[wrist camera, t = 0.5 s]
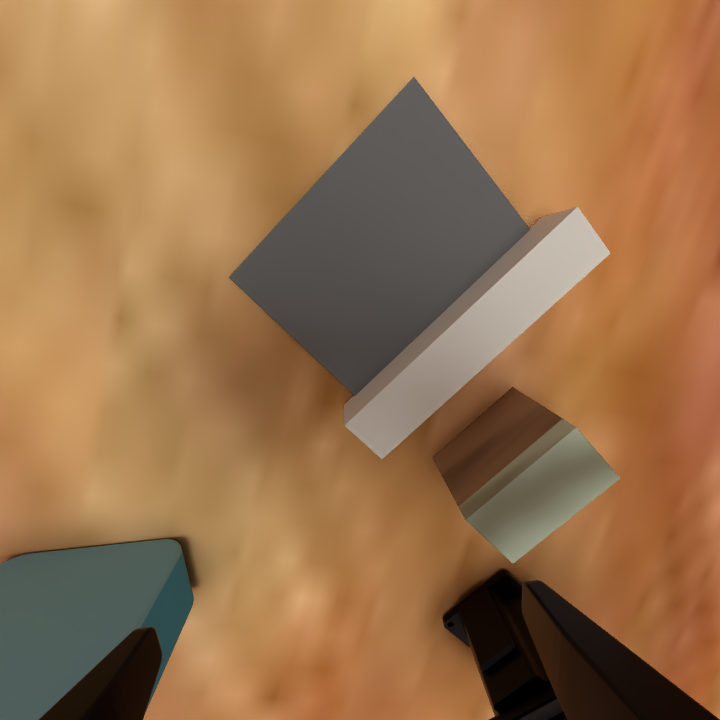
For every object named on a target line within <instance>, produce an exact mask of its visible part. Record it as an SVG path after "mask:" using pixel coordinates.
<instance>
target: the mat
mask: <svg viewBox="0 0 720 720" xmlns="http://www.w3.org/2000/svg"><path fill="white" fill-rule="evenodd" d="M529 230H530V228H529V227H528V226H527V225H526V223H525V222H524V221H523V219H522V218H521V217H520V215H519V214H518V213H517V211H516V210H515V209H514V207H513V206H512V205H511V204H510V202H509V201H508V200H507V198H506V197H505V196H504V194H503V193H502V192H501V190H500V189H499V188H498V186H497V185H496V184H495V183H494V181H493V180H492V179H491V177H490V176H489V175H488V173H487V172H486V171H485V169H484V168H483V167H482V165H481V164H480V163H479V162H478V160H477V159H476V158H475V156H474V155H473V154H472V152H471V151H470V150H469V148H468V147H467V146H466V144H465V143H464V142H463V141H462V139H461V138H460V137H459V135H458V134H457V133H456V131H455V130H454V129H453V127H452V126H451V125H450V123H449V122H448V121H447V120H446V118H445V117H444V116H443V114H442V113H441V112H440V110H439V109H438V108H437V106H436V105H435V104H434V102H433V101H432V100H431V99H430V97H429V96H428V95H427V93H426V92H425V91H424V89H423V88H422V87H421V85H420V84H419V83H418V81H417V80H416V79H415V78H414V77H413V78H412V79H411V80H410V82H409V83H408V84H407V85H406V86H405V87H404V88H403V89H402V90H401V91H400V92H399V93H398V95H397V96H396V97H395V98H394V99H393V100H392V101H391V102H390V103H389V104H388V105H387V106H386V108H385V109H384V110H383V111H382V112H381V113H380V114H379V115H378V116H377V117H376V118H375V119H374V121H373V122H372V123H371V124H370V125H369V126H368V127H367V128H366V129H365V130H364V131H363V132H362V134H361V135H360V136H359V137H358V138H357V139H356V140H355V141H354V142H353V143H352V144H351V145H350V147H349V148H348V149H347V150H346V151H345V152H344V153H343V154H342V155H341V156H340V157H339V158H338V160H337V161H336V162H335V163H334V164H333V165H332V166H331V167H330V168H329V169H328V170H327V171H326V173H325V174H324V175H323V176H322V177H321V178H320V179H319V180H318V181H317V182H316V183H315V184H314V186H313V187H312V188H311V189H310V190H309V191H308V192H307V193H306V194H305V195H304V196H303V197H302V199H301V200H300V201H299V202H298V203H297V204H296V205H295V206H294V207H293V208H292V209H291V210H290V212H289V213H288V214H287V215H286V216H285V217H284V218H283V219H282V220H281V221H280V222H279V223H278V225H277V226H276V227H275V228H274V229H273V230H272V231H271V232H270V233H269V234H268V235H267V236H266V238H265V239H264V240H263V241H262V242H261V243H260V244H259V245H258V246H257V247H256V248H255V249H254V251H253V252H252V253H251V254H250V255H249V256H248V257H247V258H246V259H245V260H244V261H243V262H242V264H241V265H240V266H239V267H238V268H237V269H236V270H235V271H234V272H233V273H232V274H231V275H230V277H229V278H230V279H231V280H232V281H233V282H234V283H235V284H236V285H237V286H239V287H240V288H241V289H242V290H243V291H244V292H245V293H246V294H247V295H248V296H249V297H250V298H251V299H252V300H253V301H254V302H256V303H257V304H258V305H259V306H260V307H261V308H262V309H263V310H264V311H265V312H266V313H267V314H268V315H269V316H270V317H271V318H273V319H274V320H275V321H276V322H277V323H278V324H279V325H280V326H281V327H282V328H283V329H284V330H285V331H286V332H287V333H288V334H290V335H291V336H292V337H293V338H294V339H295V340H296V341H297V342H298V343H299V344H300V345H301V346H302V347H303V348H304V349H305V350H307V351H308V352H309V353H310V354H311V355H312V356H313V357H314V358H315V359H316V360H317V361H318V362H319V363H320V364H321V365H322V366H324V367H325V368H326V369H327V370H328V371H329V372H330V373H331V374H332V375H333V376H334V377H335V378H336V379H337V380H338V381H340V382H341V383H342V384H343V385H344V386H345V387H346V388H347V389H348V390H349V391H350V392H351V393H352V394H353V395H354V396H356V395H357V394H358V393H359V392H360V391H361V390H362V389H363V388H364V387H365V386H366V385H367V384H368V383H369V382H370V381H371V380H372V379H374V378H375V377H376V376H377V375H378V374H379V373H380V372H381V371H382V370H383V369H384V368H385V367H386V366H387V365H388V364H389V363H390V362H391V361H392V360H394V359H395V358H396V357H397V356H398V355H399V354H400V353H401V352H402V351H403V350H404V349H405V348H406V347H407V346H408V345H409V344H410V343H411V342H413V341H414V340H415V339H416V338H417V337H418V336H419V335H420V334H421V333H422V332H423V331H424V330H425V329H426V328H427V327H428V326H429V325H430V324H431V323H433V322H434V321H435V320H436V319H437V318H438V317H439V316H440V315H441V314H442V313H443V312H444V311H445V310H446V309H447V308H448V307H449V306H450V305H451V304H453V303H454V302H455V301H456V300H457V299H458V298H459V297H460V296H461V295H462V294H463V293H464V292H465V291H466V290H467V289H468V288H469V287H470V286H472V285H473V284H474V283H475V282H476V281H477V280H478V279H479V278H480V277H481V276H482V275H483V274H484V273H485V272H486V271H487V270H488V269H489V268H490V267H492V266H493V265H494V264H495V263H496V262H497V261H498V260H499V259H500V258H501V257H502V256H503V255H504V254H505V253H506V252H507V251H508V250H509V249H510V248H512V247H513V246H514V245H515V244H516V243H517V242H518V241H519V240H520V239H521V238H522V237H523V236H524V235H525V234H526V233H527V232H528V231H529Z"/></svg>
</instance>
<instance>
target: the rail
mask: <svg viewBox="0 0 720 720" xmlns="http://www.w3.org/2000/svg"><path fill="white" fill-rule="evenodd" d="M609 254H610V252H609V250H608V249H607V248H606V246H605V245H604V243H603V242H602V240H601V239H600V238H599V236H598V235H597V233H596V232H595V231H594V229H593V228H592V226H591V225H590V224H589V222H588V221H587V219H586V218H585V216H584V215H583V214H582V212H581V211H580V209H579V208H578V207H575V208H572V209H568V210H565V211H561V212H558V213H555V214H551V215H548V216H544V217H541V218H540V219H539V220H538V221H537V222H536V223H535V224H534V225H533V226H531V227H530V230H529V231H528V232H527V233H526V234H525V235H524V236H523V237H522V238H521V239H520V240H519V241H518V242H517V243H516V244H515V245H514V246H513V247H512V248H510V249H509V250H508V251H507V252H506V253H505V254H504V255H503V256H502V257H501V258H500V259H499V260H498V261H497V262H496V263H495V264H494V265H493V266H492V267H490V268H489V269H488V270H487V271H486V272H485V273H484V274H483V275H482V276H481V277H480V278H479V279H478V280H477V281H476V282H475V283H474V284H473V285H472V286H470V287H469V288H468V289H467V290H466V291H465V292H464V293H463V294H462V295H461V296H460V297H459V298H458V299H457V300H456V301H455V302H454V303H453V304H451V305H450V306H449V307H448V308H447V309H446V310H445V311H444V312H443V313H442V314H441V315H440V316H439V317H438V318H437V319H436V320H435V321H434V322H433V323H431V324H430V325H429V326H428V327H427V328H426V329H425V330H424V331H423V332H422V333H421V334H420V335H419V336H418V337H417V338H416V339H415V340H414V341H413V342H411V343H410V344H409V345H408V346H407V347H406V348H405V349H404V350H403V351H402V352H401V353H400V354H399V355H398V356H397V357H396V358H395V359H394V360H392V361H391V362H390V363H389V364H388V365H387V366H386V367H385V368H384V369H383V370H382V371H381V372H380V373H379V374H378V375H377V376H376V377H375V378H374V379H372V380H371V381H370V382H369V383H368V384H367V385H366V386H365V387H364V388H363V389H362V390H361V391H360V392H359V393H358V394H357V395H356V396H353V397H352V398H350V399H349V400H348V401H347V402H346V403H345V404H344V426H345V427H347V428H348V429H349V430H350V431H351V432H352V433H353V434H354V435H355V436H356V437H358V438H359V439H360V440H361V441H362V442H363V443H364V444H365V445H366V446H368V447H369V448H370V449H371V450H372V451H373V452H374V453H375V454H376V455H377V456H379V457H380V458H381V459H383V458H384V457H385V456H387V455H388V454H389V453H390V452H391V451H392V450H393V449H394V448H395V447H397V446H398V445H399V444H400V443H401V442H402V441H403V440H404V439H405V438H407V437H408V436H409V435H410V434H411V433H412V432H413V431H414V430H415V429H416V428H418V427H419V426H420V425H421V424H422V423H423V422H424V421H425V420H426V419H428V418H429V417H430V416H431V415H432V414H433V413H434V412H435V411H436V410H438V409H439V408H440V407H441V406H442V405H443V404H444V403H445V402H446V401H447V400H449V399H450V398H451V397H452V396H453V395H454V394H455V393H456V392H457V391H459V390H460V389H461V388H462V387H463V386H464V385H465V384H466V383H467V382H469V381H470V380H471V379H472V378H473V377H474V376H475V375H476V374H477V373H478V372H480V371H481V370H482V369H483V368H484V367H485V366H486V365H487V364H488V363H490V362H491V361H492V360H493V359H494V358H495V357H496V356H497V355H498V354H500V353H501V352H502V351H503V350H504V349H505V348H506V347H507V346H508V345H509V344H511V343H512V342H513V341H514V340H515V339H516V338H517V337H518V336H519V335H521V334H522V333H523V332H524V331H525V330H526V329H527V328H528V327H529V326H531V325H532V324H533V323H534V322H535V321H536V320H537V319H538V318H539V317H540V316H542V315H543V314H544V313H545V312H546V311H547V310H548V309H549V308H550V307H552V306H553V305H554V304H555V303H556V302H557V301H558V300H559V299H560V298H562V297H563V296H564V295H565V294H566V293H567V292H568V291H569V290H570V289H571V288H573V287H574V286H575V285H576V284H577V283H578V282H579V281H580V280H581V279H583V278H584V277H585V276H586V275H587V274H588V273H589V272H590V271H591V270H593V269H594V268H595V267H596V266H597V265H598V264H599V263H600V262H601V261H602V260H604V259H605V258H606V257H607V256H608V255H609Z"/></svg>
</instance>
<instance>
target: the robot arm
mask: <svg viewBox="0 0 720 720" xmlns="http://www.w3.org/2000/svg"><path fill="white" fill-rule="evenodd" d="M443 623H444V626H445V628H446V629H447V630H449V631H450V632H451V633H452V634H454V635H455V636H456V637H457V638H459V639H460V640H461V641H462V642H464V643H465V644H466V645H468V646H469V647H470V648H471V651H472V654H473V656H474V659H475V662H476V665H477V667H478V670H479V673H480V676H481V679H482V681H483V684H484V687H485V690H486V693H487V695H488V698H489V701H490V704H491V707H492V709H493V712H494V715H495V717H493V718H491V719H490V720H720V719H718V718H717V717H716V716H714V715H713V714H712V713H711V712H709V711H708V710H707V709H705V708H704V707H703V706H702V705H700V704H699V703H698V702H696V701H695V700H694V699H693V698H691V697H690V696H689V695H687V694H686V693H685V692H684V691H682V690H681V689H680V688H678V687H677V686H676V685H674V684H673V683H672V682H671V681H669V680H668V679H667V678H665V677H664V676H663V675H662V674H660V673H659V672H658V671H656V670H655V669H654V668H653V667H651V666H650V665H649V664H647V663H646V662H645V661H644V660H642V659H641V658H640V657H638V656H637V655H636V654H635V653H633V652H632V651H631V650H629V649H628V648H627V647H626V646H624V645H623V644H622V643H620V642H619V641H618V640H617V639H615V638H614V637H613V636H611V635H610V634H609V633H608V632H606V631H605V630H604V629H602V628H601V627H600V626H599V625H597V624H596V623H595V622H593V621H592V620H591V619H589V618H588V617H587V616H586V615H584V614H583V613H582V612H580V611H579V610H578V609H577V608H575V607H574V606H573V605H571V604H570V603H569V602H568V601H566V600H565V599H564V598H562V597H561V596H560V595H559V594H557V593H556V592H555V591H553V590H552V589H551V588H550V587H548V586H547V585H546V584H544V583H543V582H541V581H539V580H535V581H527V582H524V583H523V584H522V583H521V582H519V581H518V580H517V579H516V578H515V577H514V576H513V575H512V574H511V573H510V572H508V571H505V570H504V571H501V572H499V573H498V574H497V575H496V576H494V577H493V578H492V579H491V580H489V581H488V582H487V583H486V584H484V585H483V586H482V587H481V588H479V589H478V590H477V591H476V592H474V593H473V594H472V595H471V596H469V597H468V598H467V599H465V600H464V601H463V602H462V603H460V604H459V605H458V606H457V607H455V608H454V609H453V610H452V611H450V612H449V613H448V614H447V615H445V616H444V617H443ZM161 661H162V649H161V646H160V642H159V639H158V635H157V632H156V629H155V628H154V627H143V628H137V629H135V630H133V631H132V632H131V633H130V634H129V635H128V636H127V637H126V638H125V639H123V640H122V641H121V642H120V643H119V644H118V645H117V646H116V647H115V648H114V649H113V650H112V651H111V652H110V653H109V654H108V655H106V656H105V657H104V658H103V659H102V660H101V661H100V662H99V663H98V664H97V665H96V666H95V667H94V668H93V669H92V670H91V671H90V672H88V673H87V674H86V675H85V676H84V677H83V678H82V679H81V680H80V681H79V682H78V683H77V684H76V685H75V686H74V687H73V688H71V689H70V690H69V691H68V692H67V693H66V694H65V695H64V696H63V697H62V698H61V699H60V700H59V701H58V702H57V703H56V704H54V705H53V706H52V707H51V708H50V709H49V710H48V711H47V712H46V713H45V714H44V715H43V716H42V717H41V718H40V719H39V720H143V718H144V715H145V712H146V709H147V706H148V703H149V700H150V696H151V693H152V690H153V687H154V684H155V681H156V678H157V675H158V672H159V669H160V666H161Z"/></svg>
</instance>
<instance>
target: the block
mask: <svg viewBox="0 0 720 720" xmlns="http://www.w3.org/2000/svg"><path fill="white" fill-rule="evenodd" d="M433 459H434V461H435V463H436V465H437V467H438V469H439V471H440V473H441V474H442V476H443V478H444V480H445V482H446V484H447V486H448V488H449V490H450V491H451V493H452V495H453V497H454V499H455V501H456V503H457V505H458V507H459V509H460V510H461V512H462V514H463V516H464V518H465V520H466V521H467V522H468V523H469V524H470V525H471V526H473V527H474V528H475V529H476V530H477V531H478V532H479V533H480V534H481V535H482V536H483V537H485V538H486V539H487V540H488V541H489V542H490V543H491V544H492V545H493V546H494V547H495V548H496V549H498V550H499V551H500V552H501V553H502V554H503V555H504V556H505V557H506V558H507V559H508V560H510V561H511V562H512V563H515V562H516V561H517V560H518V559H520V558H521V557H522V556H523V555H525V554H526V553H527V552H529V551H530V550H531V549H532V548H534V547H535V546H536V545H537V544H539V543H540V542H541V541H542V540H544V539H545V538H546V537H547V536H549V535H550V534H551V533H552V532H554V531H555V530H556V529H557V528H559V527H560V526H561V525H562V524H564V523H565V522H566V521H567V520H569V519H570V518H571V517H573V516H574V515H575V514H576V513H578V512H579V511H580V510H581V509H583V508H584V507H585V506H586V505H588V504H589V503H590V502H591V501H593V500H594V499H595V498H596V497H598V496H599V495H600V494H601V493H603V492H604V491H605V490H606V489H608V488H609V487H610V486H611V485H613V484H614V483H615V482H617V481H618V480H619V479H620V477H619V476H618V475H617V474H616V472H615V471H614V470H613V469H612V468H611V467H610V465H609V464H608V463H607V462H606V461H605V460H604V459H603V457H602V456H601V455H600V454H599V453H598V452H597V451H596V449H595V448H594V447H593V446H592V445H591V444H590V442H589V441H588V440H587V439H586V438H585V437H584V436H583V434H582V433H581V432H580V431H579V430H578V429H577V427H575V426H573V425H572V424H570V423H569V422H567V421H565V420H564V419H562V418H561V417H559V416H558V415H556V414H554V413H553V412H551V411H550V410H548V409H546V408H545V407H543V406H542V405H540V404H538V403H537V402H535V401H534V400H532V399H531V398H529V397H527V396H526V395H524V394H523V393H521V392H519V391H518V390H516V389H515V388H513V387H512V388H511V389H510V390H509V391H508V392H507V393H505V394H504V395H503V396H502V397H501V398H500V399H499V400H498V401H496V402H495V403H494V404H493V405H492V406H491V407H490V408H488V409H487V410H486V411H485V412H484V413H483V414H482V415H481V416H479V417H478V418H477V419H476V420H475V421H474V422H473V423H471V424H470V425H469V426H468V427H467V428H466V429H465V430H463V431H462V432H461V433H460V434H459V435H458V436H457V437H456V438H454V439H453V440H452V441H451V442H450V443H449V444H448V445H446V446H445V447H444V448H443V449H442V450H441V451H440V452H439V453H437V454H436V455H435V456H434V457H433Z"/></svg>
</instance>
